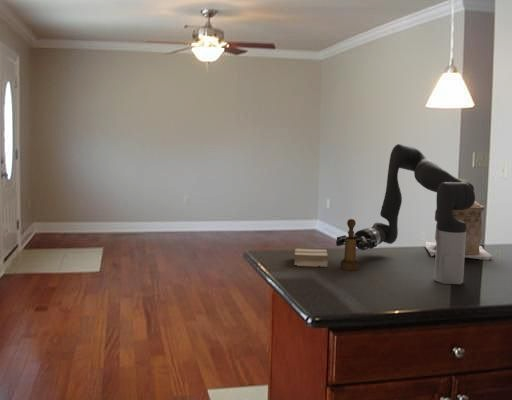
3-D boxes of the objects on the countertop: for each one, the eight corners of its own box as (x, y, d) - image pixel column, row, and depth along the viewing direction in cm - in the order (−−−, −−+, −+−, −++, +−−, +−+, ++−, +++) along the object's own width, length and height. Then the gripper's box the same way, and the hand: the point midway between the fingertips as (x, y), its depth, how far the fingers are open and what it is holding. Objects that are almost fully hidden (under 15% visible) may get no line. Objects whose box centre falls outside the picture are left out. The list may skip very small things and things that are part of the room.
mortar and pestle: (359, 270, 207) (362, 220, 205) (341, 270, 207) (343, 220, 205) (357, 266, 213) (359, 218, 211) (339, 266, 213) (341, 217, 211)
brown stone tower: (493, 261, 228) (498, 180, 224) (428, 257, 233) (433, 177, 229) (482, 249, 252) (487, 175, 249) (423, 245, 257) (427, 173, 253)
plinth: (327, 266, 212) (327, 256, 211) (294, 265, 213) (294, 254, 212) (326, 259, 224) (326, 249, 223) (295, 258, 225) (295, 248, 224)
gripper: (350, 226, 224) (330, 232, 211) (385, 230, 216) (367, 236, 203) (349, 245, 225) (330, 252, 212) (384, 250, 217) (366, 257, 204)
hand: (348, 244), depth 207 cm, fingers open, 8 cm apart
